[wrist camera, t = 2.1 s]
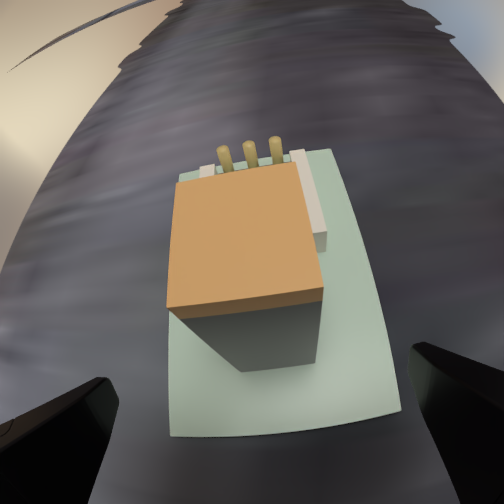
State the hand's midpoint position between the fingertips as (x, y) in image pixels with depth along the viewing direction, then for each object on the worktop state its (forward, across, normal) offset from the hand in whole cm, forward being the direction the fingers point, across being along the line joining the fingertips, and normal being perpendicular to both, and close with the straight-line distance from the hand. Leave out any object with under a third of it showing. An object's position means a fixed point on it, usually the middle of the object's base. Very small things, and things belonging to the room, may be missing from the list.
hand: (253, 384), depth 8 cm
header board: (+15, 0, +2) cm, 15 cm away
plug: (+11, 0, +4) cm, 11 cm away
